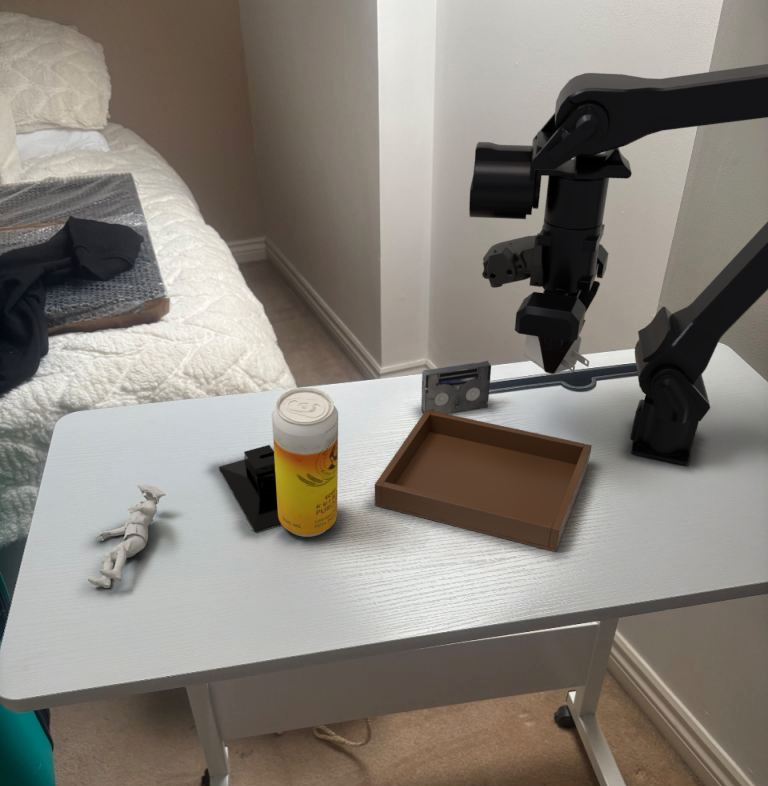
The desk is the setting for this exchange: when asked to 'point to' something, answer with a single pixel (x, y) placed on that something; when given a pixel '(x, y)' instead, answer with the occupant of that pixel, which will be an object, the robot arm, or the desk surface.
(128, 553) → the soldier figure
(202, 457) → the desk surface
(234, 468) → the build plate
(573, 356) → the usb wall charger
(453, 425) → the tray
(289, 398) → the beer can
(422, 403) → the mini dv tape
